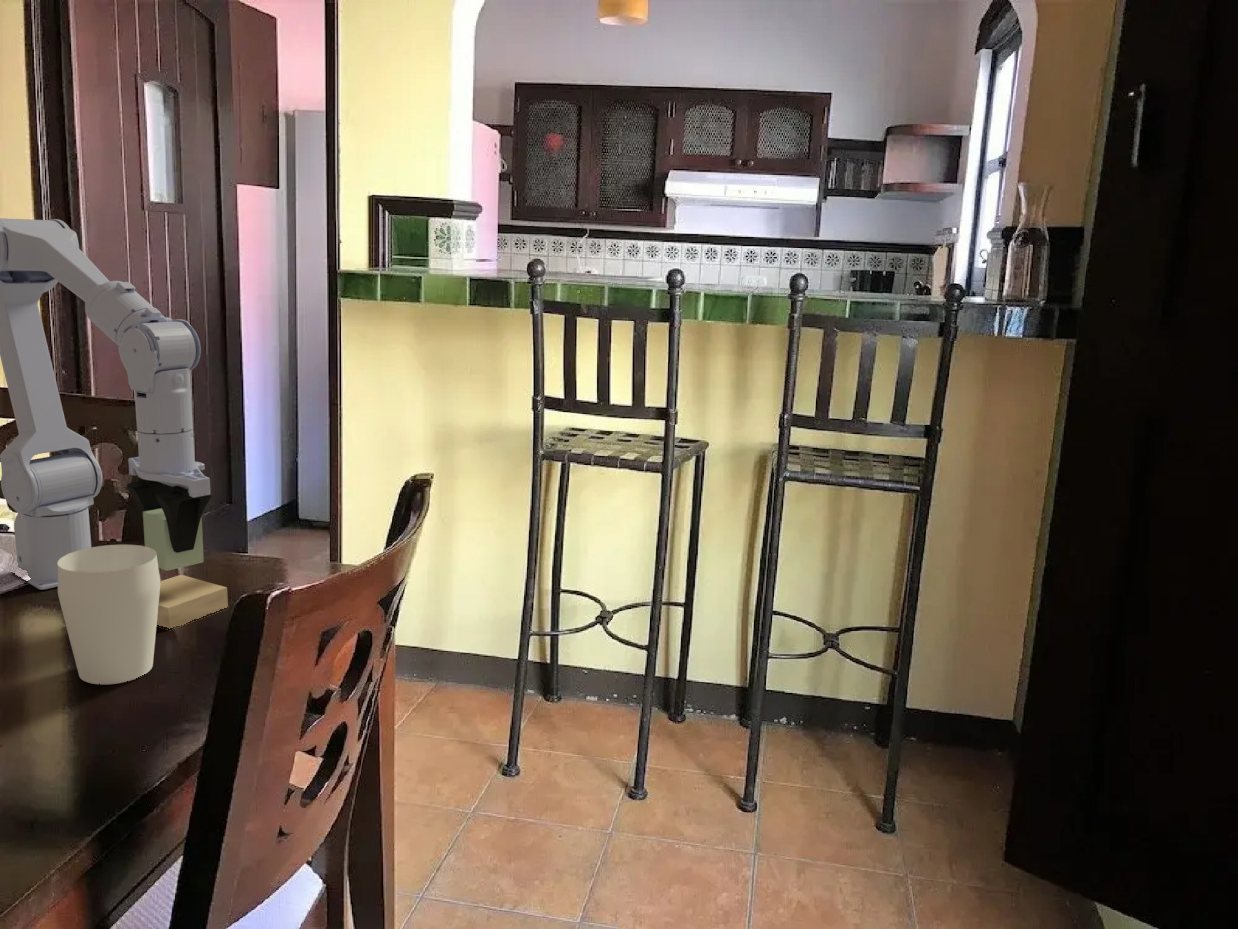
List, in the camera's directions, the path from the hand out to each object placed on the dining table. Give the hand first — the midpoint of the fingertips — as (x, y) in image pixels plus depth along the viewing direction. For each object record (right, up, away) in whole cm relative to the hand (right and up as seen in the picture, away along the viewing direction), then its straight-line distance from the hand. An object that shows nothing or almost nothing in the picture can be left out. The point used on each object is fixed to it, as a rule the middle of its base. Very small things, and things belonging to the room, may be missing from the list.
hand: (172, 545), depth 113 cm
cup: (+1, -12, -14) cm, 18 cm away
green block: (0, -2, +1) cm, 2 cm away
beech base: (0, -8, +2) cm, 8 cm away
